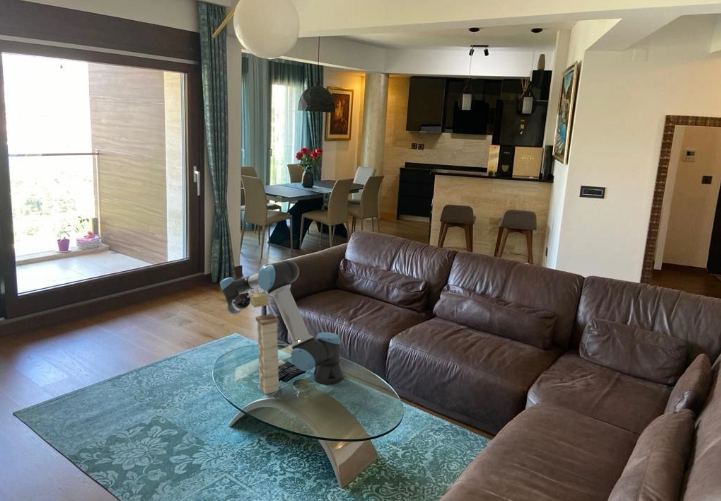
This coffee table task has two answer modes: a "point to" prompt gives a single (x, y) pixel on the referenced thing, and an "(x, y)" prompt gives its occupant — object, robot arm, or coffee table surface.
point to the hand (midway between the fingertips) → (254, 291)
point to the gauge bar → (258, 299)
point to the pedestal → (268, 353)
